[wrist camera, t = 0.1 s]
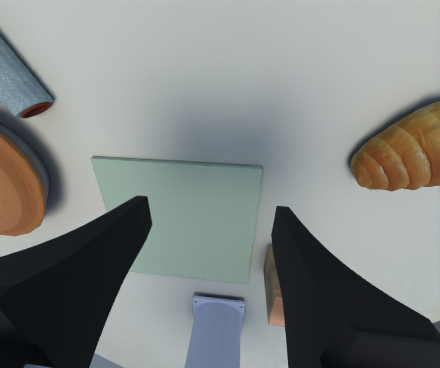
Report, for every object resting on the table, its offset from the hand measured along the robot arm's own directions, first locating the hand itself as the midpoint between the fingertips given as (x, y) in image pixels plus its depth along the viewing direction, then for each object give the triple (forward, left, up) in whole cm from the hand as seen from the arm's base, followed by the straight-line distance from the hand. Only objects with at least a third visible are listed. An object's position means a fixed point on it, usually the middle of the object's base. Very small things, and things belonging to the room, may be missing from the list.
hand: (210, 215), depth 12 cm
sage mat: (-10, +5, -10) cm, 16 cm away
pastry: (+3, -13, -11) cm, 18 cm away
